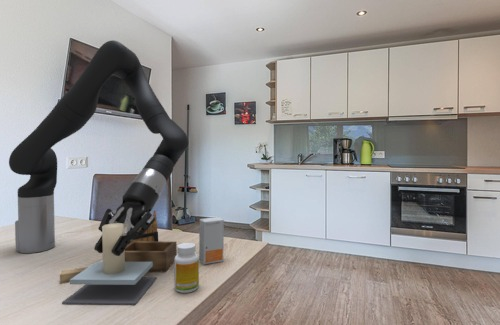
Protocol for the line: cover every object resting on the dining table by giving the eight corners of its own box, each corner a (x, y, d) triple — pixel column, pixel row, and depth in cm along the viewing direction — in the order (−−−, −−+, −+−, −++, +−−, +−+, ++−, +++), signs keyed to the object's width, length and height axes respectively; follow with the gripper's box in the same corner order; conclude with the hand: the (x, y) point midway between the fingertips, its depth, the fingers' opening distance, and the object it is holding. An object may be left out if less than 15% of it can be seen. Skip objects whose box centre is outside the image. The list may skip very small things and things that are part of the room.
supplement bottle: (202, 289, 62) (202, 246, 62) (179, 296, 59) (178, 251, 59) (193, 280, 66) (193, 240, 66) (171, 286, 63) (171, 244, 63)
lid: (69, 284, 57) (68, 231, 57) (97, 265, 66) (95, 220, 66) (134, 284, 56) (133, 231, 56) (152, 265, 66) (151, 220, 66)
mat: (61, 304, 56) (61, 302, 56) (96, 277, 68) (96, 276, 68) (135, 305, 55) (135, 303, 55) (156, 278, 67) (156, 276, 67)
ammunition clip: (125, 254, 84) (124, 215, 84) (123, 252, 85) (122, 214, 85) (158, 246, 91) (158, 210, 91) (156, 245, 92) (156, 209, 92)
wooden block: (59, 284, 65) (59, 274, 65) (62, 280, 67) (62, 270, 67) (98, 278, 68) (98, 269, 68) (99, 274, 70) (99, 265, 70)
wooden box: (116, 271, 72) (116, 252, 71) (132, 258, 81) (132, 241, 80) (166, 271, 71) (166, 252, 71) (176, 258, 80) (176, 241, 80)
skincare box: (203, 265, 75) (203, 221, 75) (199, 260, 79) (198, 218, 79) (224, 261, 78) (224, 219, 78) (218, 256, 82) (218, 216, 81)
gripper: (115, 180, 70) (71, 240, 60) (161, 181, 65) (121, 248, 54) (132, 197, 76) (93, 256, 65) (175, 200, 70) (141, 265, 59)
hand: (106, 252), depth 60 cm, fingers closed on lid, 4 cm apart
